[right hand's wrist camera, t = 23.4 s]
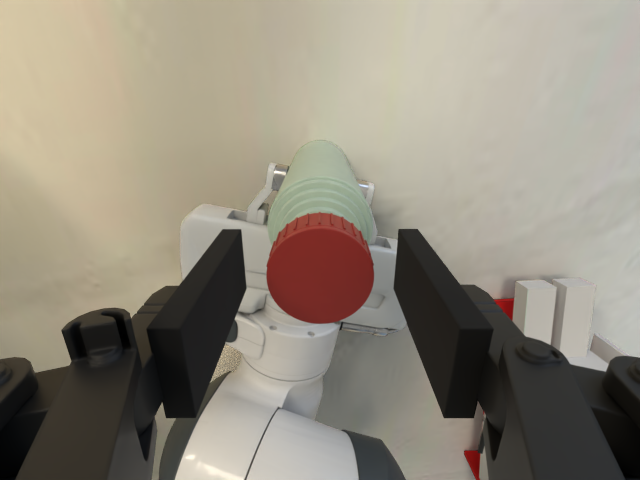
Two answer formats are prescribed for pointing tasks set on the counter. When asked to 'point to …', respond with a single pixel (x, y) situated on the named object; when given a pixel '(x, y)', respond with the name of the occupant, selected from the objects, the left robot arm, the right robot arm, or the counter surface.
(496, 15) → the counter surface
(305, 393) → the left robot arm
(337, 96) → the counter surface
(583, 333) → the toy
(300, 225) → the cap
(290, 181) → the bottle
